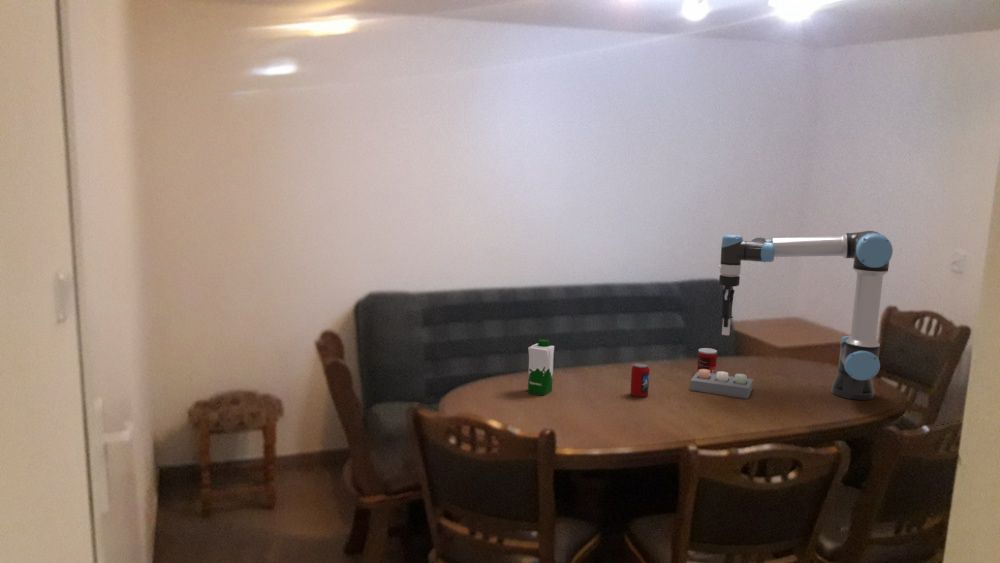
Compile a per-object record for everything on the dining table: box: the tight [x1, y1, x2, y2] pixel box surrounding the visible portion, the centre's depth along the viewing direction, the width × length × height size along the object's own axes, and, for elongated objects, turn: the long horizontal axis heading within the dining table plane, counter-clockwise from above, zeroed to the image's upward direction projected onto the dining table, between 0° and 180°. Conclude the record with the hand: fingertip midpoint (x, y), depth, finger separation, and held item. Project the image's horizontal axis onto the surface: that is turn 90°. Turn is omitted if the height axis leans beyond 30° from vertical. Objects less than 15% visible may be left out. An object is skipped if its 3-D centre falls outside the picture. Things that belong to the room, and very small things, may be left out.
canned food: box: [696, 347, 718, 374], centre depth 324 cm, size 8×8×11 cm
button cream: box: [716, 370, 729, 382], centre depth 305 cm, size 4×4×5 cm
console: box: [689, 371, 754, 400], centre depth 306 cm, size 22×14×4 cm, turn 65°
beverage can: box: [630, 362, 651, 398], centre depth 296 cm, size 7×7×12 cm
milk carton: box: [527, 338, 555, 396], centre depth 296 cm, size 9×9×20 cm
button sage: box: [734, 373, 747, 385], centre depth 303 cm, size 4×4×5 cm
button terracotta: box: [698, 369, 710, 380], centre depth 308 cm, size 4×4×5 cm
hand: (725, 334), depth 302 cm, fingers closed
